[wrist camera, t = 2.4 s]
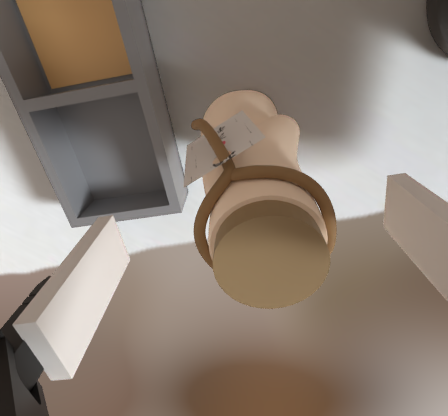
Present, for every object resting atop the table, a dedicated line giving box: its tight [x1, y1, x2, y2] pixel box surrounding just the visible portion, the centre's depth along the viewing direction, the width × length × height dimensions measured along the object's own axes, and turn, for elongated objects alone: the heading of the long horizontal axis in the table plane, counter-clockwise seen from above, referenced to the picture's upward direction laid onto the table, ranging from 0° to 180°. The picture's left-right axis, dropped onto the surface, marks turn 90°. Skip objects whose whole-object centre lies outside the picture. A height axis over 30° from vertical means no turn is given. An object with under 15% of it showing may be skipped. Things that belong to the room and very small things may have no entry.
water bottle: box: [184, 90, 337, 309], centre depth 25 cm, size 10×9×28 cm
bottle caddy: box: [0, 0, 188, 228], centre depth 33 cm, size 14×30×6 cm, turn 10°
